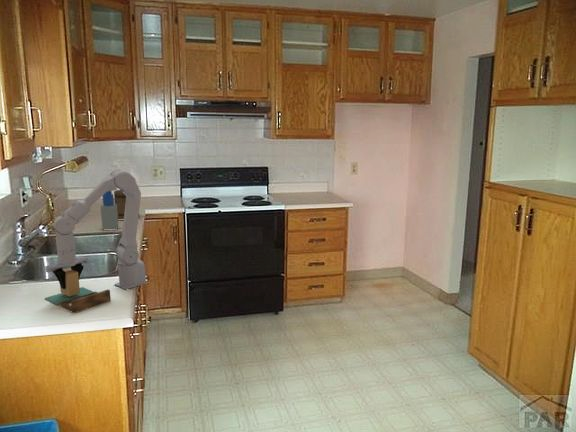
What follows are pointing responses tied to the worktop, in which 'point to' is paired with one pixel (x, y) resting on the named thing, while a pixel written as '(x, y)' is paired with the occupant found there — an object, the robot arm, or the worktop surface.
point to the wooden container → (120, 203)
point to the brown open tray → (86, 301)
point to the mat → (62, 297)
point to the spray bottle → (109, 212)
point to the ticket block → (71, 283)
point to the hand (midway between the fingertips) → (69, 286)
